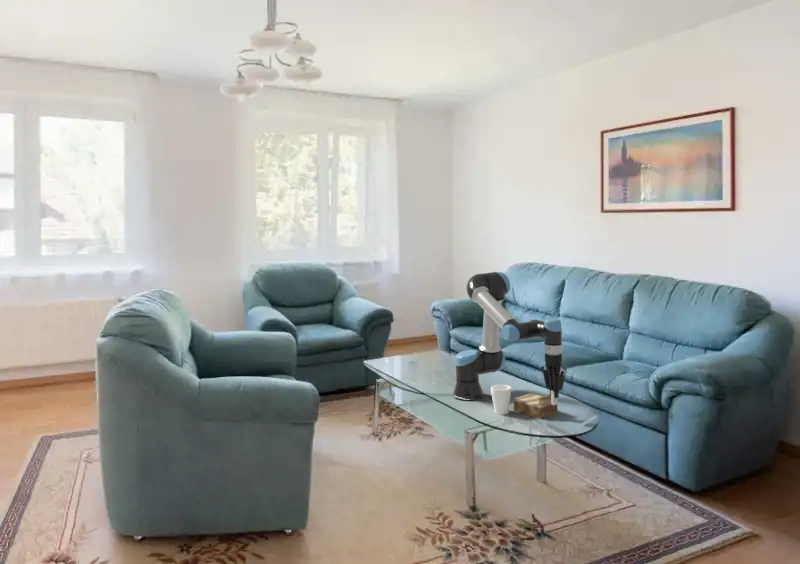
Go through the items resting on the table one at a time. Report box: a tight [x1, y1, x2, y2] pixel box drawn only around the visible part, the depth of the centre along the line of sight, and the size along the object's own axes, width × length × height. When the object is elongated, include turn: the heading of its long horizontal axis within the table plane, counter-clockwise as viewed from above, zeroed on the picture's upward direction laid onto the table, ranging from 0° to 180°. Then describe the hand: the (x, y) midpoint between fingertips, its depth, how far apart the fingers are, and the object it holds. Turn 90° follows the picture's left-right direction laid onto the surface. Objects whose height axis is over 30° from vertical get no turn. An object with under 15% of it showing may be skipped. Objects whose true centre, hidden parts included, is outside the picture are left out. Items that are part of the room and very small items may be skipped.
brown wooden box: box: [513, 400, 558, 420], centre depth 281 cm, size 16×12×6 cm
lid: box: [513, 392, 551, 409], centre depth 280 cm, size 16×12×4 cm
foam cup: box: [490, 384, 512, 416], centre depth 282 cm, size 10×9×13 cm
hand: (554, 404), depth 271 cm, fingers closed
